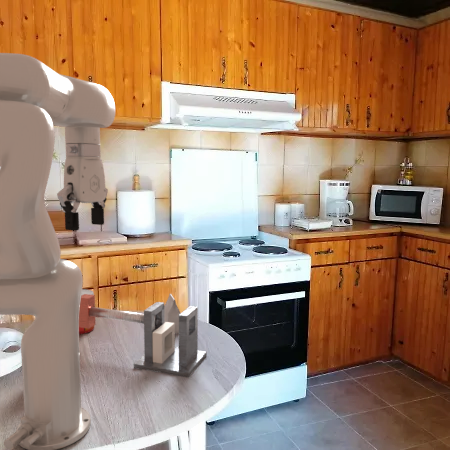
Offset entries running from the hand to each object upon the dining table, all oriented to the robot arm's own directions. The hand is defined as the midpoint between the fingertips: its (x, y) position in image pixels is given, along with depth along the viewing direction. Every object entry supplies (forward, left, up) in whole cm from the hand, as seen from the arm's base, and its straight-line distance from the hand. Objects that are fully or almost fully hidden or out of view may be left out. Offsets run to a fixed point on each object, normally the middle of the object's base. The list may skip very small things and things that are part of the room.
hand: (85, 227), depth 100 cm
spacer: (+7, -16, -29) cm, 34 cm away
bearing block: (+7, -18, -33) cm, 39 cm away
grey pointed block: (+26, -10, -34) cm, 44 cm away
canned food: (+17, +15, -34) cm, 40 cm away
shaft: (+7, -4, -27) cm, 28 cm away
